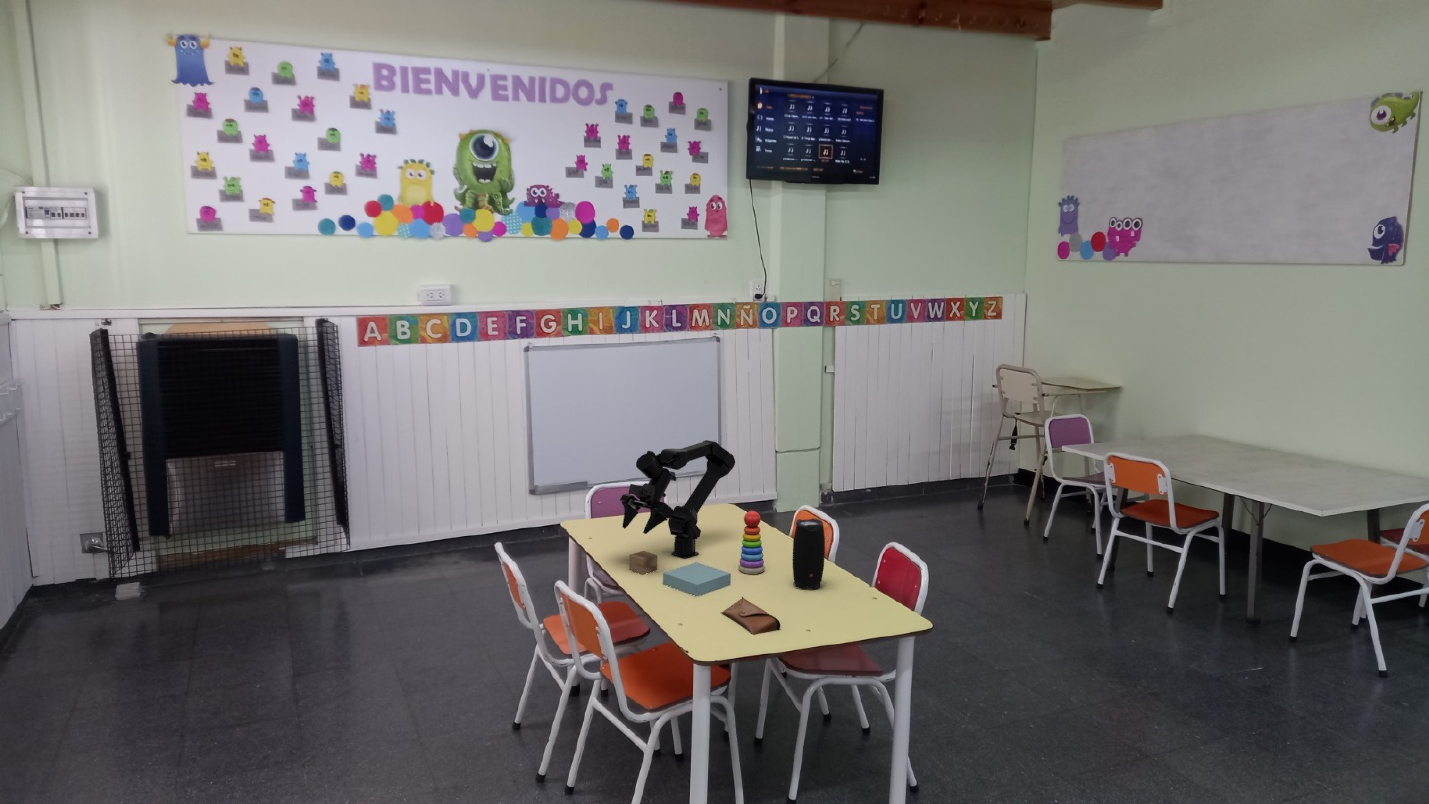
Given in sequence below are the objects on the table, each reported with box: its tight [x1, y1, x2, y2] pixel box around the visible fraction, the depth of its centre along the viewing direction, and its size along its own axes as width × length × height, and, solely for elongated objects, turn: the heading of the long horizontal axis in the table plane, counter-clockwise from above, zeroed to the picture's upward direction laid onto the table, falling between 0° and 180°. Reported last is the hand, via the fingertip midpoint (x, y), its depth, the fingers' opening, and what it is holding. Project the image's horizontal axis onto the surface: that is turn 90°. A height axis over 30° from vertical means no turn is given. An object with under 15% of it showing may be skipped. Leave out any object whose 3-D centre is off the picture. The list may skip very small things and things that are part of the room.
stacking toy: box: [738, 510, 766, 575], centre depth 290 cm, size 8×8×19 cm
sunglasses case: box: [720, 596, 781, 636], centre depth 252 cm, size 18×7×7 cm
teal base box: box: [662, 561, 732, 597], centre depth 278 cm, size 14×14×4 cm
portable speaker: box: [792, 518, 826, 590], centre depth 278 cm, size 9×9×20 cm
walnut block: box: [628, 550, 658, 576], centre depth 289 cm, size 6×6×5 cm
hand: (633, 530), depth 286 cm, fingers open, 9 cm apart
